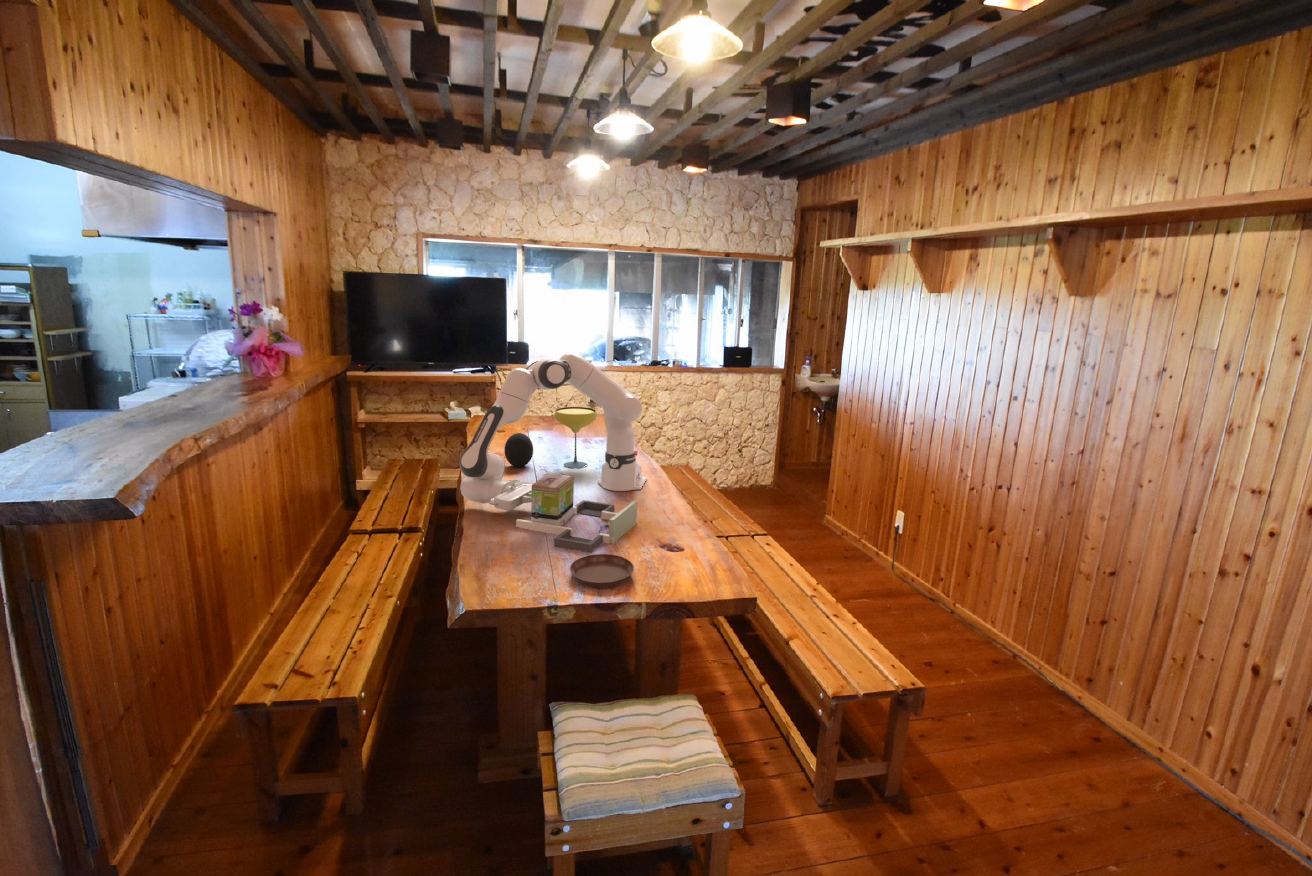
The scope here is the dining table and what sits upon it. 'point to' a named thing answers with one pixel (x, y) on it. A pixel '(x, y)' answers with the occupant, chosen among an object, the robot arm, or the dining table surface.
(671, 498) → the dining table surface
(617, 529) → the channel
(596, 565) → the plant saucer
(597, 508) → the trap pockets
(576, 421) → the cocktail glass
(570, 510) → the tea box
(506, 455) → the decorative egg
